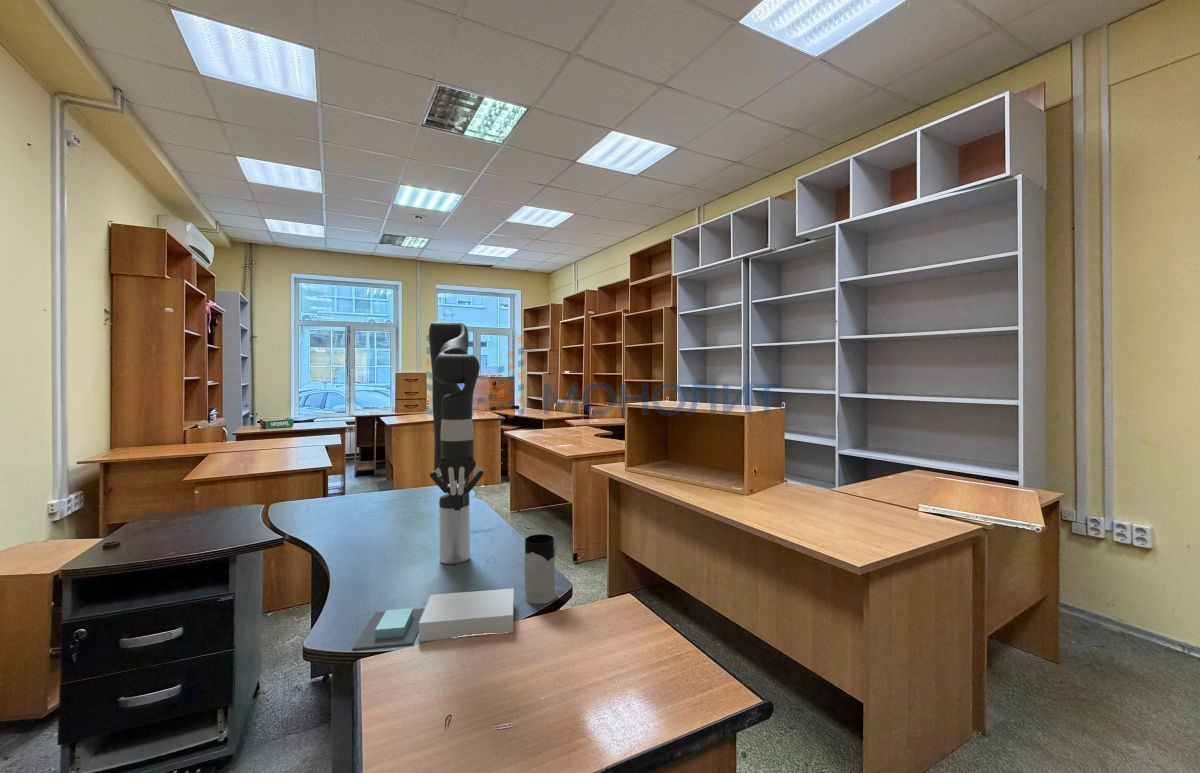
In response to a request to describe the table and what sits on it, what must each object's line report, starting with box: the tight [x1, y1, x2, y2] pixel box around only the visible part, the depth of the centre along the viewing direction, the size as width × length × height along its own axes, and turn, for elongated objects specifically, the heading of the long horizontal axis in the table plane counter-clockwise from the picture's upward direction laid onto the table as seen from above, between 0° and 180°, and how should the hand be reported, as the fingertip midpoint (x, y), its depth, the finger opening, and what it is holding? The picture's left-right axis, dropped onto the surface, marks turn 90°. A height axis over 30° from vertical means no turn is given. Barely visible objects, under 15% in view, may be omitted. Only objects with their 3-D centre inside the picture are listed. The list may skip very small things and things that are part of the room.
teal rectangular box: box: [375, 607, 414, 639], centre depth 107 cm, size 9×6×2 cm, turn 10°
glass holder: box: [522, 533, 558, 605], centre depth 126 cm, size 9×14×15 cm, turn 160°
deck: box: [418, 588, 515, 642], centre depth 110 cm, size 14×20×4 cm
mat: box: [352, 607, 425, 651], centre depth 108 cm, size 16×12×1 cm
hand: (457, 509), depth 113 cm, fingers closed
